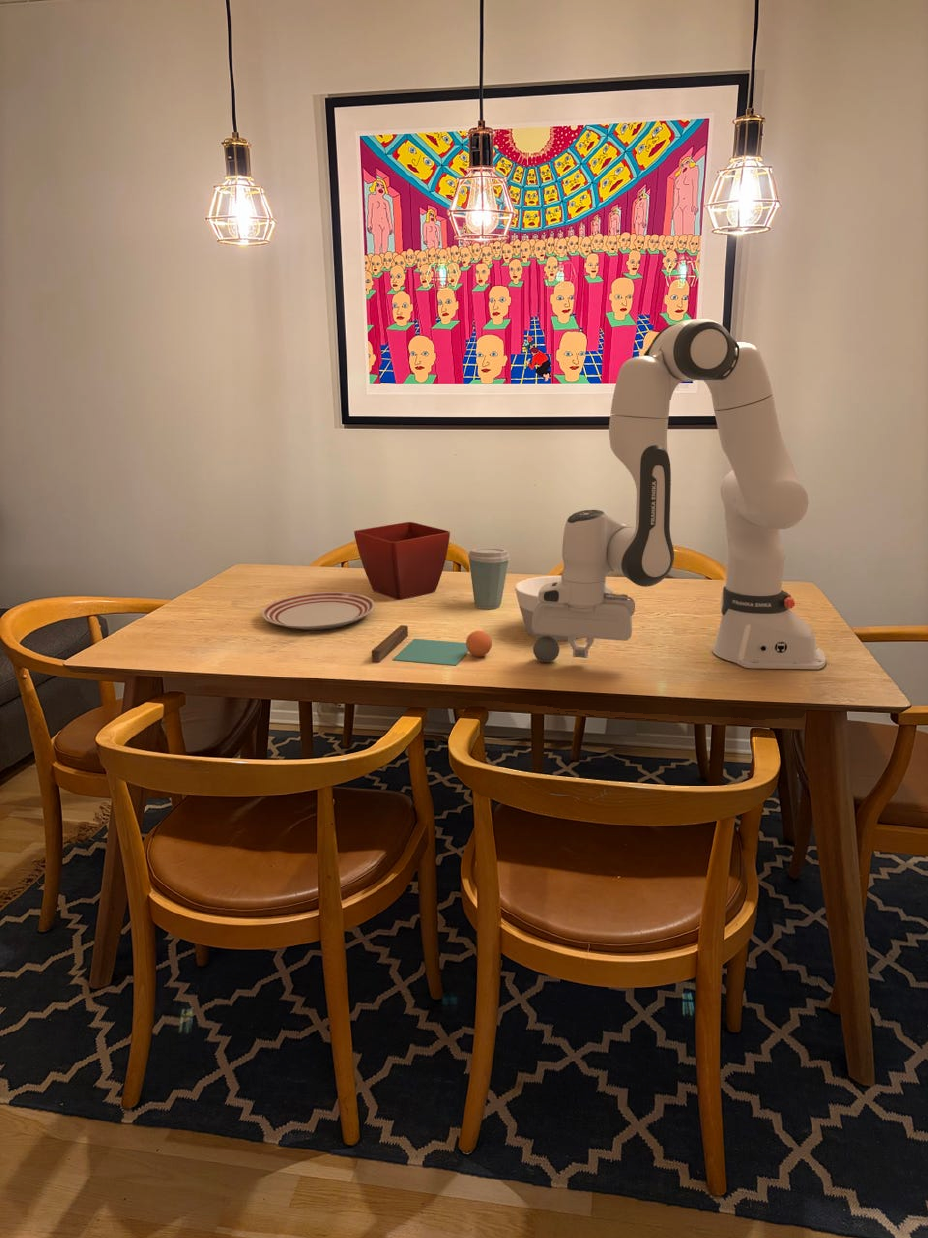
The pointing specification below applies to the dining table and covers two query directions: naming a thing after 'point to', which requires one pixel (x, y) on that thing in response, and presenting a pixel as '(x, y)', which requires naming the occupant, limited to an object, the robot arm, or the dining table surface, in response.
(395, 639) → the rail
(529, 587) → the bowl
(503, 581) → the disposable coffee cup
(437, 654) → the mark
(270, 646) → the dining table surface
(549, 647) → the ball
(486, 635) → the ball
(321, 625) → the dinner plate
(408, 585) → the plant pot
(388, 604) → the dining table surface
